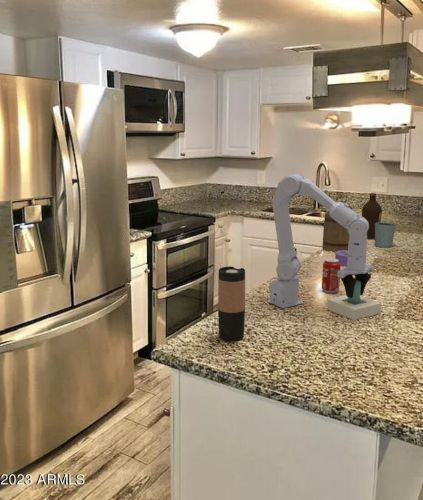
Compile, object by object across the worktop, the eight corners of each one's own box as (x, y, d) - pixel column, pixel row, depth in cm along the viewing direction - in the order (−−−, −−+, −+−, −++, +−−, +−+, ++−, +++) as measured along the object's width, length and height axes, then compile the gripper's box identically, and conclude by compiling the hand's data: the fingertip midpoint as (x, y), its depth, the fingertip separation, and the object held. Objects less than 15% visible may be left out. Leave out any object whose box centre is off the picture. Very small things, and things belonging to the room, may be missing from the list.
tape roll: (363, 267, 220) (364, 256, 219) (336, 266, 222) (336, 255, 221) (360, 261, 232) (360, 250, 230) (333, 260, 233) (334, 249, 232)
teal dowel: (353, 304, 162) (354, 283, 161) (344, 301, 166) (345, 280, 165) (362, 302, 164) (363, 281, 163) (354, 299, 168) (355, 279, 166)
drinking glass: (370, 244, 265) (371, 222, 262) (387, 244, 267) (389, 221, 264) (379, 248, 255) (381, 225, 253) (397, 248, 257) (399, 225, 254)
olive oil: (360, 239, 279) (363, 194, 273) (359, 235, 289) (362, 192, 283) (380, 240, 276) (383, 194, 271) (379, 236, 286) (382, 192, 281)
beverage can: (326, 287, 191) (328, 257, 189) (341, 290, 187) (343, 259, 185) (318, 291, 186) (320, 260, 184) (334, 294, 183) (336, 262, 180)
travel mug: (222, 343, 141) (222, 274, 136) (214, 333, 148) (214, 267, 143) (248, 340, 143) (249, 272, 138) (239, 330, 150) (240, 265, 145)
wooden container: (358, 251, 250) (361, 207, 245) (331, 253, 246) (333, 208, 241) (343, 245, 264) (345, 203, 259) (317, 247, 260) (319, 204, 255)
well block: (354, 320, 158) (354, 309, 157) (326, 309, 168) (327, 299, 167) (380, 313, 164) (381, 303, 163) (352, 303, 174) (353, 293, 173)
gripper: (349, 260, 154) (347, 302, 157) (382, 255, 162) (379, 295, 165) (333, 256, 160) (331, 296, 163) (365, 250, 168) (362, 289, 171)
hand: (354, 295), depth 164 cm, fingers closed on teal dowel, 4 cm apart
